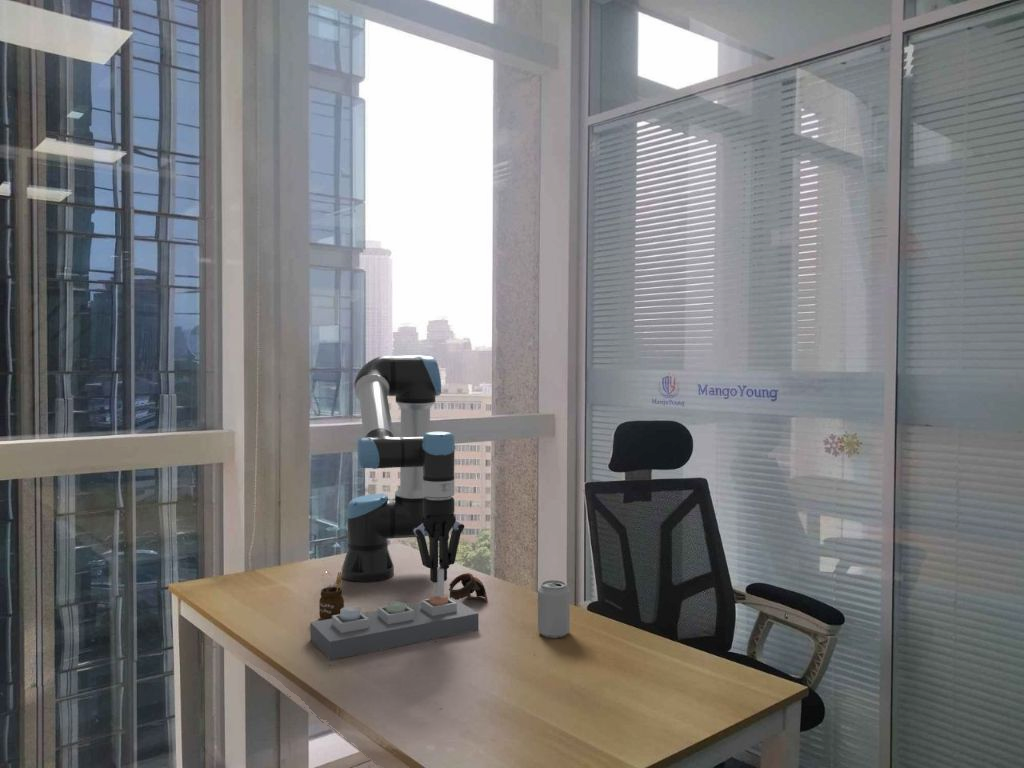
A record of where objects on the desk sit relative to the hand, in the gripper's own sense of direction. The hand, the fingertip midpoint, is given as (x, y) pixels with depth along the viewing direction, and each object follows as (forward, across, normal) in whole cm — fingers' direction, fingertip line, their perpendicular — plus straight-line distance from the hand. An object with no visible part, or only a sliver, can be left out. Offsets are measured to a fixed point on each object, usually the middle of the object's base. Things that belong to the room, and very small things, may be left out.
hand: (438, 594), depth 188 cm
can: (+8, +21, -18) cm, 29 cm away
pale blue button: (+2, -22, 0) cm, 22 cm away
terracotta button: (+3, 0, 0) cm, 3 cm away
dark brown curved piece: (+8, +16, +14) cm, 23 cm away
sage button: (+3, -11, 0) cm, 11 cm away
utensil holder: (+8, -20, +19) cm, 29 cm away
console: (+8, -11, 0) cm, 13 cm away
